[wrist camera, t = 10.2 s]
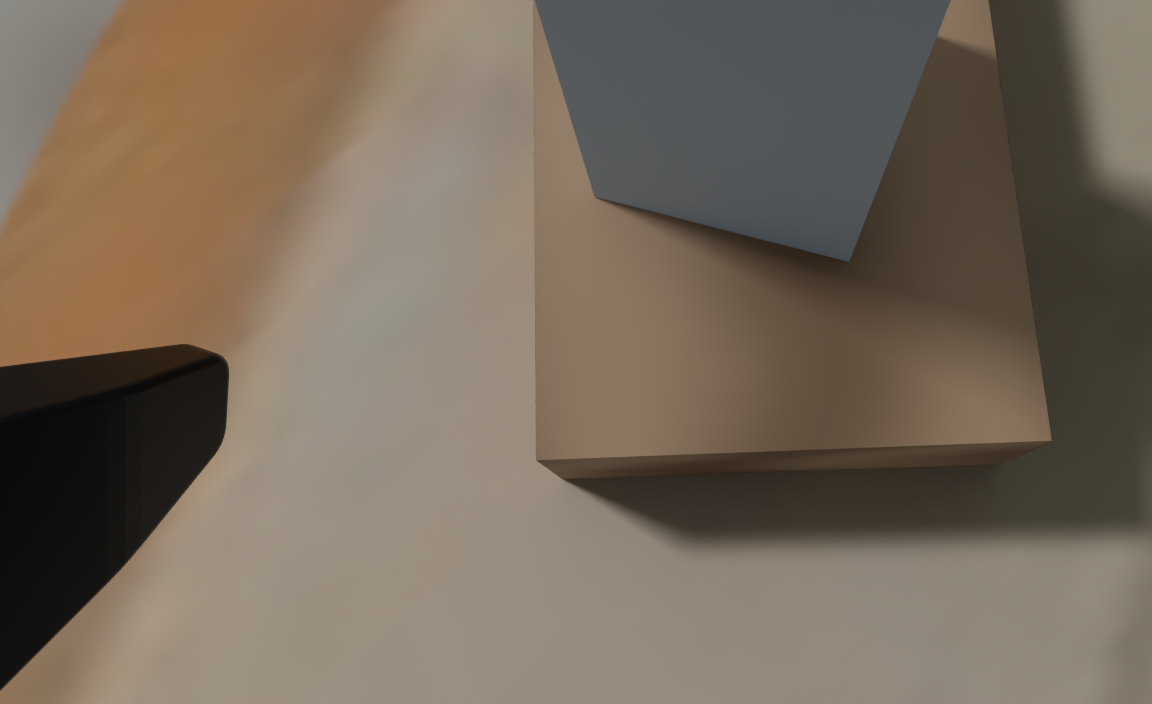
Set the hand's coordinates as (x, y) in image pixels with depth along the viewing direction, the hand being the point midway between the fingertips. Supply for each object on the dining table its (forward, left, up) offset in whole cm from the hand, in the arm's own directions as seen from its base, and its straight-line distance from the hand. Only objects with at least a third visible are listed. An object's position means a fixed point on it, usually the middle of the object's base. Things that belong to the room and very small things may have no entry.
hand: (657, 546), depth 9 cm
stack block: (-5, +7, -12) cm, 15 cm away
